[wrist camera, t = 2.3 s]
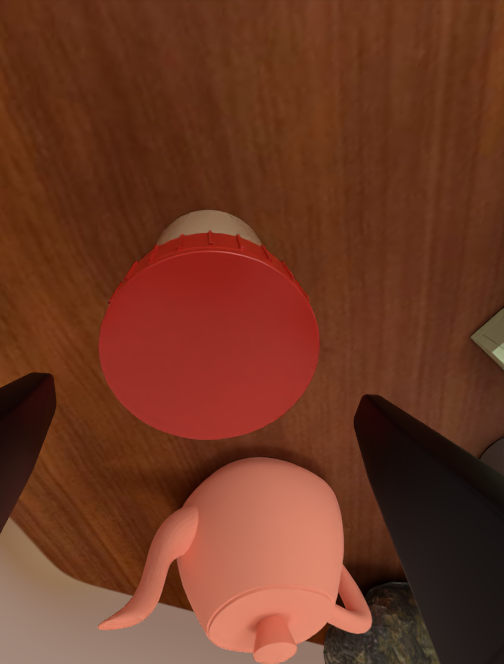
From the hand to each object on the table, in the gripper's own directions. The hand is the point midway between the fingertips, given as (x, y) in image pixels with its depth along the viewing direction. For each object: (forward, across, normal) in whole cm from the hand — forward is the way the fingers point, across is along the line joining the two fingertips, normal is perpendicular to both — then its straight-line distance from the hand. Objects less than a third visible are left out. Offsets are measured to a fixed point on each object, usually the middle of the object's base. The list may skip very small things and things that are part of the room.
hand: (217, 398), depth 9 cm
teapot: (+11, -5, +18) cm, 22 cm away
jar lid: (+2, 0, 0) cm, 2 cm away
